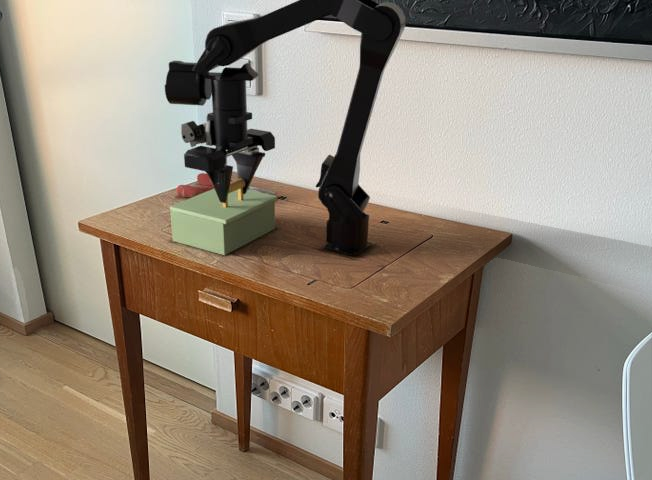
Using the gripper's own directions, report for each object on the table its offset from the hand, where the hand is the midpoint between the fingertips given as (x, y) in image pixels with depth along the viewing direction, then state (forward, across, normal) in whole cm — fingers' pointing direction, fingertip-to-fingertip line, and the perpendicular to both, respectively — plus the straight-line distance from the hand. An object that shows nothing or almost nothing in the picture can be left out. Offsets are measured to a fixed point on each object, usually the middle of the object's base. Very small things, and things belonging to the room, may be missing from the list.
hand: (233, 197), depth 130 cm
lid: (+2, 0, -2) cm, 3 cm away
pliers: (+8, -17, -16) cm, 25 cm away
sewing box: (+7, 0, -2) cm, 8 cm away
